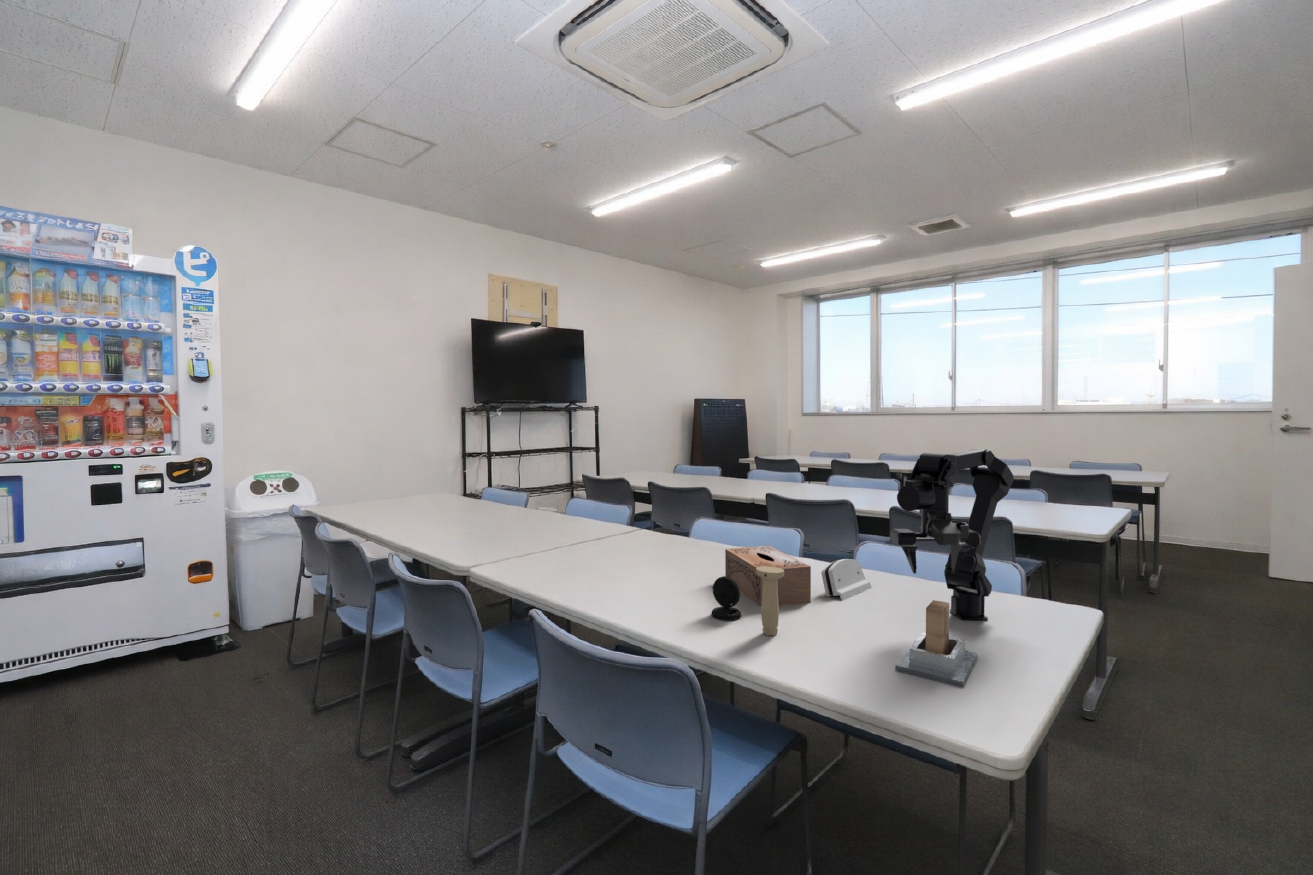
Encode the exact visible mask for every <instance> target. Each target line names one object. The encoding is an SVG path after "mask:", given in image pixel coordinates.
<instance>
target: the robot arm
mask: <svg viewBox="0 0 1313 875" xmlns="http://www.w3.org/2000/svg"><path fill="white" fill-rule="evenodd" d="M967 469H969V470H968V475H969V476H970V477H971V479H972V485H971V486H972V487H973V488H972V489H973V491H974V493H975V498H974V501H973V506H972V509H971V511H970V512H971V513H970V515H969V519H968V522H962V521H961V522H959V521H958V522H953V519H952V518H953V516H952V512H949V509H950V508H949V505H950V504H949V502H950V498H949V495H950V491H949V488H953V487H954V485H955V484H954V483H953V482H952V481H951V480H950V479H951V478H953V477H954V476H956V475H957V472H959V471H962V470H967ZM1014 480H1015V479H1014V475H1013V472H1012V470H1011V469H1010V467H1009V466H1008V464H1007V463H1006V462H1004V461H1002V460H1001V459H999V458H998V457H996V456H995V454H994V453H993V451H991V450H989V449H985V448H984V449H982V448H971V449H968V450H964V451H958V452H954V453H931V452H930V453H929V452H923V453H921V454H920V455H919V457H918V459H916V462H915V464H914V466H913V469H912V471H911V473H910V474H909V477H908V480H905V481H904V486H902V487H901V488H900V489H899V490H898V492H897V494H896V500H897V504H898V506H899V507H900V508H901V509H902V510H904V511H906V512H914V511H919V515H921V516H920V517H921V519H920V520H921V522H920V523H921V526H918V528H919V530H918V531H920V532H915V531H913V530H911V529H908V528H892V529H891V531H890V534H889V535H890V538H889V539H890V541H892V542H893V543H895V544H896V545H898V546H899V547H900V548H901V549H902V551H903V553H904V554H905V556H906V559H907V561H908V564H909V567H910V569H911V571H912V573H913V574H917V555H916V554H917V550H918V545H915V544H916V543H917V542H919V541H920V542H921V541H922V542H923V541H924V542H926V541H929V542H931V541H934V542H936V544H937V545H940V546H946V545H949V546H950V553H949V554H948V558H947V562H946V564H945V565H944V566H945V568H944V571H943V573H944V579H945V585H946V587H947V588H946V589H948V590H952V595H950V596H951V597H950V608H949V613H952V614H953V615H954V616H955V617H957V618H958V619H960V620H963V621H988V620H989V619H988V618H989V617H988V616H986V615H985V602H986V600H985V599H986V598H987V597H990V595H991V592H992V591H993V590H992V587H993V585H992V583H991V582H990V580H989V578H988V577H987V576H986V572H987V567H986V564H985V562H984V559H983V553H984V550H985V546H986V543H987V539H988V537H989V533H990V529H991V526H992V522H993V519H994V516H995V512H996V508H997V505H998V503H999V502H1000V501H1002V499H1004V498H1005V497H1006V496H1007V495H1008V494H1009V492H1010V489H1011V487H1012V485H1013V483H1014ZM985 597H986V598H985Z"/></svg>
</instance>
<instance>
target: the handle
mask: <svg viewBox="0 0 1313 875" xmlns="http://www.w3.org/2000/svg"><path fill="white" fill-rule="evenodd" d="M756 574H757V575H758V576H759V577H761V578H762V581H763V588H762V606H761V607H760V608H761V612H760V613H761V614H760V615H761V623H762V624H761V625H762V633H763V634H765V635H766V636H767V637H769V636H772V637H773V636H776V635H777V634H778V630H779V629H778V627H779V618H780V615H779V614H780V610H779V609H780V607H779V606H780V605H779V604H778V586H777V583H778V579H780V578H782V577H783V576H784V570H783V569H780V568H776V567H767V566H761V567H757V568H756Z"/></svg>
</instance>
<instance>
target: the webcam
mask: <svg viewBox="0 0 1313 875" xmlns="http://www.w3.org/2000/svg"><path fill="white" fill-rule="evenodd" d="M712 594H713V597H714V599H715V601H716V602H717V603H718V604H719V605H720V606H718V607H714V608H713V609H712V610H711V616H712V618H715V619H716V620H720V621H727V622H728V621H735V620H739V619H740V618H741V617H742V612H741V610H740V609H738V608H736V607H734V606H736V605H737V604H738V603H739V601H740V599H741V592H740V589H739V586H738V584H737V583H736V582H735V580H733V579H732V578H730V577H727V576H720V577H718V578H716V579H715V581H714V582H713V585H712ZM729 613H731V614H729Z"/></svg>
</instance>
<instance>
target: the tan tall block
mask: <svg viewBox="0 0 1313 875" xmlns="http://www.w3.org/2000/svg"><path fill="white" fill-rule="evenodd" d="M925 632H926V651H931V652H935V653H940V654H944V655H949V637H950V603H949V602H947V601H940V600H937V599H936V600H935V599H933V600H932V601H931V602H930V603H929V604H928V605H927V606H926V607H925Z"/></svg>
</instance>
